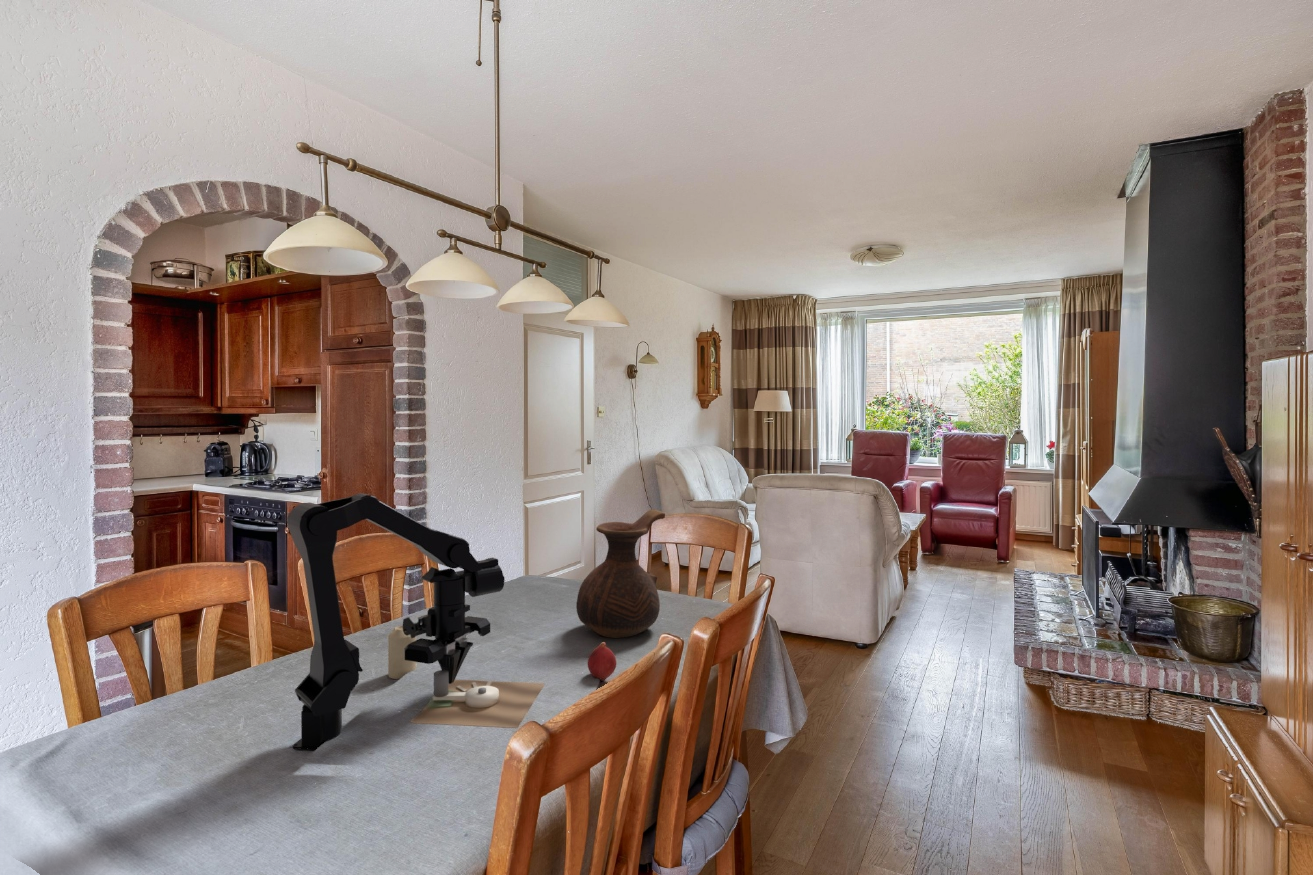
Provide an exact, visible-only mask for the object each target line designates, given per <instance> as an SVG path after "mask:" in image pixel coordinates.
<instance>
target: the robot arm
mask: <svg viewBox="0 0 1313 875" xmlns="http://www.w3.org/2000/svg"><path fill="white" fill-rule="evenodd" d="M286 519H287V520H286V523H287V524H286V525H287V527H288V531H289V533H290V535H291V538H292V541H293V543H294V546H295V548H296V550H297V552H298V553H299V555H300V557H301V559H302V562H303V571H304V578H305V584H306V591H307V592H306V593H307V598H308V599H307V600H308V605H309V611H310V619H311V625H312V632H313V638H314V639H313V640H314V642H313V646H312V650H311V653H310V660H309V661H310V662H309V673H308V674H307V675H306V676H305V678H303V680H302V681H301V682H300V683H299V684H298V685H297V687H295V689H294V693H295V695H296V697H297V699H298V701H300V702H301V703H302V704H303V705H302V708H301V709H302V710H301V712H300V715H301V717H300V718H301V719H300V722H301V723H300V724H301V726H300V728H301V729H300V730H301V737H300V739H298V740H297V741H296V742H294V743H293V744H292V746H291V747H292V750H303V751H304V750H307V751H316V750H318V749H319V748H320V747H321V746H322V745H324V744H325V743H326V742H328V741H331V740H332V739H335V738H337V737H338V736H339V735H340V734H341V733H342V732H341V731H342V726H343V724H342V723H343V719H342V718H343V716H342V715H343V714H342V713H343V710H344V709H345V708H346V707H347V704H348V700H350V696H351V692H353V690H354V689H355V687H356V685H358V683H359V680H360V673H362V672H363V671H364V669H363V668H362V666H361V664H360V649H359V647H357V646H356V645H355V644H353V643H351V642H350V641H349V640H347V639H345V638H344V637H345V636H344V630H343V629H344V628H343V624H342V616H341V614H342V613H341V608H340V602H339V596H338V595H339V593H338V586H337V580H336V572H335V565H334V560H333V559H334V554H335V553H334V552H335V549H336V545H337V541H338V531H340V530H344V529H347V528H350V527H351V526H354V525H355V524H358V523H360V522H361V521H364V520H365V521H368V522H370V523H372V524H374V525H376V526H377V527H380V528H382V529H384V530H385V531H388V532H389V533H391V534H394V535H395V536H397V537H399V538H401V539H403V540H405V541H407V542H409V543H410V544H412V545H413V546H415V547H416V548H417V549H418V550H419V551H420V552H421V554H423V555H425V556H426V557H427V558H428V559H430V560H431V561H432V562H434V563H436V564H439V565H441V566H444V567H446V568H445V569H438V568H436V567H433V566H431V567H430V568H429V570H428V571H427V572H426V573H424V574H423V575H422V576H421V579H422V580H423V581H425V582H428V583H429V584H433V607H430V608H428V610H427V614H424V615H421V616H419V617H417V615H415V614H413V615H411V616H408V617H405V618H403V620H402V625H403V632H404V634H405V635H406V636H408V635H410V636H411V638H415V637H416V638H417V636H420V635H425V637H428V638H422V637H421V638H419V639H416V641H414V642H412V643H410V644H408V645H407V646H406V647H405V648H404V659H405V660H407V661H414V662H416V663H420V664H421V663H422V664H426V665H427V664H428V665H430V664H433V663H436V662H437V663H438V664H439V667H440V670H447V671H448V672H449V684H452V683H453V682H454V680H456V678H457V676H458V673H459V671H460V670H461V667H462V664H463V663H464V661H465V659H466V657H467V656H468V653H469V651H470V650H471V648H472V647H473V646H474V642H471V641H468V637H467V635H470V634H472V633H474V632H477V634H478V635H479V636H480V637H484V636H486V635H488V634H490V633H491V621H489V620H488V618H485V617H478V616H472V615H471V616H470V615H467V616H466V613H467V612H469V611H471V604H466V594H468V595H469V596H470V597H472V598H475V597H480V596H481V597H482V596H485V595H489V594H495V593H500V592H502V590H503V588H504V586H505V579H506V578H505V575H504V573H503V570H502V568H501V566H500V565H499V559H498V558H495V557H488V558H486V559H481V560H477V559H476V558H475V557H474V556H473V555H472V553H471V552H470V551H471V549H470V543H469V542H468V541H467V540H466V539H464V538H463V537H460V536H456V535H453V534H449V533H446V532H444V531H441V530H437V529H434V528H431V527H429V526H426V525H424V524H423V523H421V522H419V521H417V520H415V519H414V518H411V517H410V516H408V515H406V514H404V513H402V512H400V511H399V510H397V509H395V508H393V507H391V506H389V505H388V504H386V503H384V502H382V501H381V500H379V499H378V498H377V497H376V496H374V495H372V494H367V493H362V492H361V493H360V492H359V493H356V494H354V495H351V496H348V497H343V498H342V497H341V498H339V499H334V500H329V501H324V502H321V503H315V502H303V503H300V504H298V505H296V506H295V507H293V508H292V509H291V510H290V512H289V513H288V515H287V518H286ZM458 568H459V569H462V570H458V571H457V570H456V569H458ZM432 637H434V639H429V638H432ZM359 672H360V673H359Z"/></svg>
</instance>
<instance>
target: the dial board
mask: <svg viewBox="0 0 1313 875" xmlns="http://www.w3.org/2000/svg"><path fill="white" fill-rule="evenodd" d="M545 685H546V683H542V682H540V683H539V682H520V681H519V682H517V681H500V680H499V681H495V680H471V679H455V680H454V682H453V683H452V684H449V692H467V691H468V690H469V689H471V688H474V687H479V686H493V687H496V688H497V689H498V690H499V701H498V702H497V703H496V704H494V705H492V706H489V707H484V708H473V707H469V706H467V705H466V703H465V700H433V697H431V699H429V702H428V703H427V704H426V705H425V706H424V707H423V708H422V709H421V710H420V711H419V713H418V714H416V716H414V718H412V720H411V721H409V723H410V724H422V725H423V724H425V725H442V726H443V725H444V726H445V725H449V726H464V727H465V726H468V727H487V728H488V727H489V728H506V729H507V728H511V729H519V727H520V725H521V723H522V722H523V720H524V719H525V717H526V715H527V713H528V712H529V711H530V709H531V707H532V706H533V704H534V702H535V701H536V699H537V698H538V696H539V694H540V693H541V691H542V690H543V688H544V686H545Z"/></svg>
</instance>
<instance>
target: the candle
mask: <svg viewBox="0 0 1313 875" xmlns="http://www.w3.org/2000/svg"><path fill="white" fill-rule="evenodd" d="M416 640H417V636H416V637H415V638H411V636H410V635H408V636H406V635H405V634H404V632H403V624H402V625H400V626H394V628H393V629H392V630H391V632H390V633H389V634H388V635H387V642H388V643H387V644H388V645H387V647H388V648H387V649H388V650H387V651H388V654H387V656H388V657H387V660H388V663H387V664H388V668H387V670H388V671H387V672H388V678H390V679H393V680H400V679H402V678H403V677H404V676H406V675H407V674H408V673H411V672H414V671H415V670H416V669H417V662H414V661H407V660H405V659H404V648H405V647H406V646H407V645H408V644H410V643H412V642H414V641H416Z"/></svg>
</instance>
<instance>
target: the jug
mask: <svg viewBox="0 0 1313 875" xmlns="http://www.w3.org/2000/svg"><path fill="white" fill-rule="evenodd" d="M665 517H666V513H664V512H663V511H661V510H658V509H649V510H647V511H646V512H645V513H643V515H641V516H640V517H639V518H638V519H637V520H635V521H634V522H632V523H629V522H622V521H609V522H603V523H601V524H599V525H598V526H596V531H597V532H598V533H600V534H603V535H604V536H605V539H606V540H607V546H608V547H607V548H608V549H607V553H606V556H605V560H604V561H603V562H602V563H600V564H598V565H597V566H596V567H595V568H593V569H592V570H591V571H590V572H589V574H587V576H586V577H585V578H584V579H583V580H582V582H581V584H580V586H579V589H578V592H577V599H576V614H577V616H578V619H579V621H580V622H581V623H582V624H583V625H585V626H586V627H587V628H590V630H592V631H594V632H595V633H596V634H598V635H601V636H602V637H605V638H611V639H620V638H621V639H622V638H629V637H634V636H636V635H639V634H641V633H642V632H643V633H644V631H646V630H647V629H649V628H650V627H651V626H653V624H655V622H656V621H657V619H658V618H659V615H660V611H661V610H660V607H661V606H660V605H661V603H660V597H659V593H658V589H657V580H658V577H657V576H656V575H655V574H653V573H651V572H650V571H646V570H645V569H644V568H643V567H642V566H641V565H640V564H639V561H638V560H637V557H636V545H637V542H638V540H639V539H640V538H641V537H643V536H644V535H648V533H649V531H650V528H652V525H653V524H654V523H655V522H656V521H658V520H664V519H665Z"/></svg>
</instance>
